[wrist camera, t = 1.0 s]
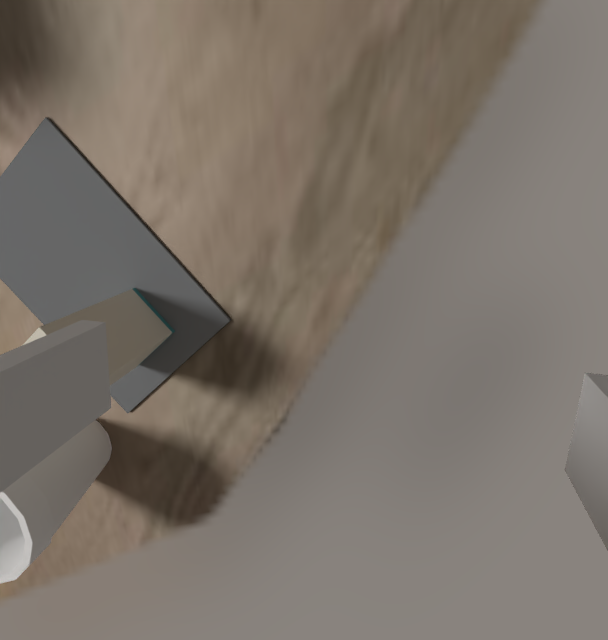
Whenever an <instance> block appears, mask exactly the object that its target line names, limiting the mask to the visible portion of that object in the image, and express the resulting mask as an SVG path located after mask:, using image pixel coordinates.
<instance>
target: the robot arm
mask: <svg viewBox="0 0 608 640" xmlns="http://www.w3.org/2000/svg"><path fill="white" fill-rule="evenodd" d="M110 408H111V397H110V382H109V367H108V352H107V336H106V322H98V321H88V320H81V321H78V322H76V323H74V324H71V325H69V326H67V327H64V328H62V329H60V330H57V331H55V332H53V333H50V334H48V335H46V336H43V337H41V338H39V339H37V340H34V341H32V342H30V343H27V344H25V345H23V346H20V347H18V348H16V349H13V350H11V351H9V352H6V353H4V354H2V355H0V493H1V492H2V491H3V490H5V489H6V488H7V487H9V486H10V485H11V484H13V483H14V482H15V481H16V480H18V479H19V478H20V477H22V476H23V475H24V474H26V473H27V472H28V471H29V470H31V469H32V468H33V467H35V466H36V465H37V464H39V463H40V462H41V461H42V460H44V459H45V458H46V457H48V456H49V455H50V454H52V453H53V452H54V451H56V450H57V449H58V448H59V447H61V446H62V445H63V444H65V443H66V442H67V441H69V440H70V439H71V438H72V437H74V436H75V435H76V434H78V433H79V432H80V431H82V430H83V429H84V428H85V427H87V426H88V425H89V424H91V423H92V422H93V421H95V420H96V419H97V418H98V417H100V416H101V415H102V414H104V413H105V412H106V411H108V410H109V409H110ZM565 471H566V473H567V475H568V477H569V479H570V481H571V483H572V484H573V486H574V488H575V490H576V492H577V494H578V496H579V498H580V500H581V501H582V503H583V505H584V507H585V509H586V511H587V513H588V514H589V516H590V518H591V520H592V522H593V524H594V526H595V528H596V530H597V531H598V533H599V535H600V537H601V539H602V541H603V543H604V545H605V547H606V548H607V550H608V375H602V374H591V373H585V376H584V381H583V385H582V390H581V395H580V400H579V405H578V410H577V415H576V419H575V424H574V429H573V433H572V438H571V443H570V448H569V453H568V457H567V462H566V467H565Z"/></svg>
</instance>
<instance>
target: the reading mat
mask: <svg viewBox="0 0 608 640" xmlns="http://www.w3.org/2000/svg"><path fill="white" fill-rule="evenodd" d="M0 279H1V280H2V281H3V282H4V283H5V284H6V285H7V286H8V287H9V288H10V289H11V290H12V291H13V292H14V294H15V295H16V296H17V297H18V298H19V299H20V300H21V301H22V302H23V303H24V304H25V305H26V306H27V307H28V308H29V309H30V310H31V312H32V313H33V314H34V315H35V316H36V317H37V318H38V319H39V320H40V321H41V322H42V323H43V324H44V325H46V324H48V323H51V322H53V321H55V320H58V319H60V318H63V317H65V316H68V315H70V314H72V313H75V312H77V311H80V310H82V309H85V308H87V307H89V306H92V305H94V304H97V303H99V302H102V301H104V300H106V299H109V298H111V297H114V296H116V295H119V294H121V293H123V292H126V291H128V290H131V289H133V288H136V289H137V290H138V291H139V292H140V294H141V295H142V296H143V297H144V298H145V299H146V300H147V301H148V302H149V303H150V304H151V305H152V307H153V308H154V309H155V310H156V311H157V312H158V313H159V314H160V315H161V316H162V317H163V319H164V320H165V321H166V322H167V323H168V324H169V325H170V326H171V327H172V328H173V329H174V330H175V332H174V333H173V334H172V335H170V336H169V337H168V338H167V339H166V340H165V341H164V342H163V343H162V344H161V345H160V346H159V347H158V348H157V349H156V350H155V351H154V352H152V353H151V354H150V355H149V356H148V357H147V358H146V359H145V360H144V361H143V362H142V363H141V364H140V365H139V366H137V367H136V368H134V369H133V370H131V371H130V372H129V373H127V374H126V375H124V376H123V377H121V378H120V379H119V380H117V381H116V382H114V383H113V384H112V385H110V395H111V396H112V397H113V398H114V399H115V400H116V402H117V403H118V404H119V405H120V406H121V407H122V408H123V409H124V410H125V411H126V412H127V413H129V412H130V411H131V410H132V409H133V408H134V407H135V406H136V405H138V404H139V403H140V402H141V401H142V400H143V399H144V398H145V397H146V396H148V395H149V394H150V393H151V392H152V391H153V390H154V389H155V388H156V387H157V386H159V385H160V384H161V383H162V382H163V381H164V380H165V379H166V378H167V377H169V376H170V375H171V374H172V373H173V372H174V371H175V370H176V369H177V368H178V367H180V366H181V365H182V364H183V363H184V362H185V361H186V360H187V359H188V358H190V357H191V356H192V355H193V354H194V353H195V352H196V351H197V350H198V349H199V348H201V347H202V346H203V345H204V344H205V343H206V342H207V341H208V340H209V339H211V338H212V337H213V336H214V335H215V334H216V333H217V332H218V331H219V330H220V329H222V328H223V327H224V326H225V325H226V324H227V323H228V322H229V321H230V320H231V319H230V318H229V317H228V316H227V315H226V314H225V312H224V311H223V310H222V309H221V308H220V307H219V306H218V305H217V304H216V303H215V301H214V300H213V299H212V298H211V297H210V296H209V295H208V294H207V293H206V292H205V290H204V289H203V288H202V287H201V286H200V285H199V284H198V283H197V282H196V280H195V279H194V278H193V277H192V276H191V275H190V274H189V273H188V272H187V271H186V269H185V268H184V267H183V266H182V265H181V264H180V263H179V262H178V261H177V260H176V258H175V257H174V256H173V255H172V254H171V253H170V252H169V251H168V250H167V248H166V247H165V246H164V245H163V244H162V243H161V242H160V241H159V240H158V239H157V237H156V236H155V235H154V234H153V233H152V232H151V231H150V230H149V229H148V228H147V226H146V225H145V224H144V223H143V222H142V221H141V220H140V219H139V218H138V216H137V215H136V214H135V213H134V212H133V211H132V210H131V209H130V208H129V207H128V205H127V204H126V203H125V202H124V201H123V200H122V199H121V198H120V197H119V196H118V194H117V193H116V192H115V191H114V190H113V189H112V188H111V187H110V186H109V185H108V183H107V182H106V181H105V180H104V179H103V178H102V177H101V176H100V175H99V173H98V172H97V171H96V170H95V169H94V168H93V167H92V166H91V165H90V164H89V162H88V161H87V160H86V159H85V158H84V157H83V156H82V155H81V154H80V153H79V151H78V150H77V149H76V148H75V147H74V146H73V145H72V144H71V143H70V141H69V140H68V139H67V138H66V137H65V136H64V135H63V134H62V133H61V132H60V130H59V129H58V128H57V127H56V126H55V125H54V124H53V123H52V122H51V121H50V119H49V118H47V117H45V119H44V120H43V121H42V123H41V124H40V125H39V127H38V128H37V129H36V131H35V132H34V133H33V134H32V136H31V137H30V138H29V140H28V141H27V142H26V144H25V145H24V146H23V148H22V149H21V150H20V152H19V153H18V154H17V156H16V157H15V158H14V160H13V161H12V162H11V164H10V165H9V166H8V167H7V169H6V170H5V171H4V173H3V174H2V175H1V177H0Z"/></svg>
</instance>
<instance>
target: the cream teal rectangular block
mask: <svg viewBox="0 0 608 640" xmlns="http://www.w3.org/2000/svg"><path fill="white" fill-rule="evenodd" d="M81 320H88V321H98V322H106V336H107V352H108V367H109V382H110V385H112V384H113V383H114V382H116V381H117V380H119V379H120V378H121V377H123V376H124V375H126V374H127V373H129V372H130V371H131V370H133V369H134V368H136V367H137V366H139V365H140V364H141V363H142V362H143V361H144V360H145V359H146V358H147V357H148V356H149V355H150V354H151V353H152V352H154V351H155V350H156V349H157V348H158V347H159V346H160V345H161V344H162V343H163V342H164V341H165V340H166V339H167V338H168V337H169V336H170V335H172V334H173V333H174V332H175V330H174V329H173V328H172V327H171V326H170V325H169V324H168V323H167V322H166V321H165V320H164V319H163V317H162V316H161V315H160V314H159V313H158V312H157V311H156V310H155V309H154V308H153V307H152V305H151V304H150V303H149V302H148V301H147V300H146V299H145V298H144V297H143V296H142V295H141V294H140V292H139V291H138V290H137V289H136V288H133V289H131V290H128V291H126V292H123V293H121V294H119V295H116V296H114V297H111V298H109V299H106V300H104V301H102V302H99V303H97V304H94V305H92V306H89V307H87V308H85V309H82V310H80V311H77V312H75V313H72V314H70V315H68V316H65V317H63V318H60V319H58V320H55V321H53V322H51V323H48V324H46V325H43V326H41V327H39V328H38V329H37V330H36V331H35V332H34V333H33V335H32V336H31V337H30V338H29V339H28V340H27V341H26V342H25V343H24V344H23V345H25V344H27V343H30V342H32V341H34V340H37V339H39V338H41V337H43V336H46V335H48V334H50V333H53V332H55V331H57V330H60V329H62V328H64V327H67V326H69V325H71V324H74V323H76V322H78V321H81ZM23 345H22V346H23Z"/></svg>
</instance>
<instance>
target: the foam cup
mask: <svg viewBox="0 0 608 640" xmlns="http://www.w3.org/2000/svg"><path fill="white" fill-rule="evenodd" d="M111 451H112V446H111V442H110V438H109V435H108V433H107V432H106V431H105V429H104V428H103V427H102V425H101V424H100V423H99V422H98V421H96V420H95V421H93V422H92V423H91V424H89V425H88V426H87V427H85V428H84V429H83V430H82V431H80V432H79V433H78V434H76V435H75V436H74V437H72V438H71V439H70V440H69V441H67V442H66V443H65V444H63V445H62V446H61V447H59V448H58V449H57V450H56V451H54V452H53V453H52V454H50V455H49V456H48V457H46V458H45V459H44V460H42V461H41V462H40V463H39V464H37V465H36V466H35V467H33V468H32V469H31V470H29V471H28V472H27V473H26V474H24V475H23V476H22V477H20V478H19V479H18V480H16V481H15V482H14V483H13V484H11V485H10V486H9V487H7V488H6V489H5V490H3V491H2V492H1V493H0V583H4V582H8V581H13V580H16V579H17V578H18V577H19V576H20V575H21V574H22V573H23V572H24V571H25V570H26V569H27V567H28V566H29V565H30V564H31V563H32V562H33V561H34V560H35V559H36V558H37V557H38V556H39V555H40V554H41V553H42V552H43V551H44V550H45V549H46V548H47V547H48V545H49V544H50V543H51V538H52V536H53V535H54V534H55V532H56V531H57V530H58V528H59V527H60V526H61V524H62V523H63V522H64V520H65V519H66V518H67V516H68V515H69V514H70V512H71V511H72V510H73V508H74V507H75V506H76V504H77V503H78V502H79V500H80V499H81V498H82V496H83V495H84V494H85V492H86V491H87V490H88V488H89V487H90V486H91V484H92V483H93V482H94V480H95V479H96V478H97V476H98V475H99V474H100V472H101V471H102V470H103V468H104V467H105V466H106V464H107V462H108V461H109V460H110V456H111Z"/></svg>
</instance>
